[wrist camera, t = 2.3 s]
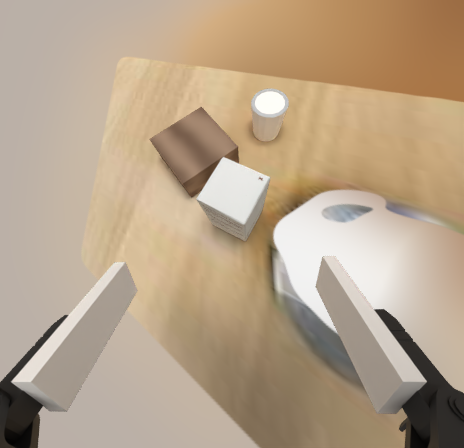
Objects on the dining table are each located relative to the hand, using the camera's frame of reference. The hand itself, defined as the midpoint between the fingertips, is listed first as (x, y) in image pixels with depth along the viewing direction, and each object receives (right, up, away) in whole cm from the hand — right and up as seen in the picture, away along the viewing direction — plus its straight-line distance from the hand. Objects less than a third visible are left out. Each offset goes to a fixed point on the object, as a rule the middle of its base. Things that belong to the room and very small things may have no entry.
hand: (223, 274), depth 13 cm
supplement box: (+2, +5, +23) cm, 24 cm away
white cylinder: (+8, +24, +28) cm, 38 cm away
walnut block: (-6, +17, +27) cm, 33 cm away
